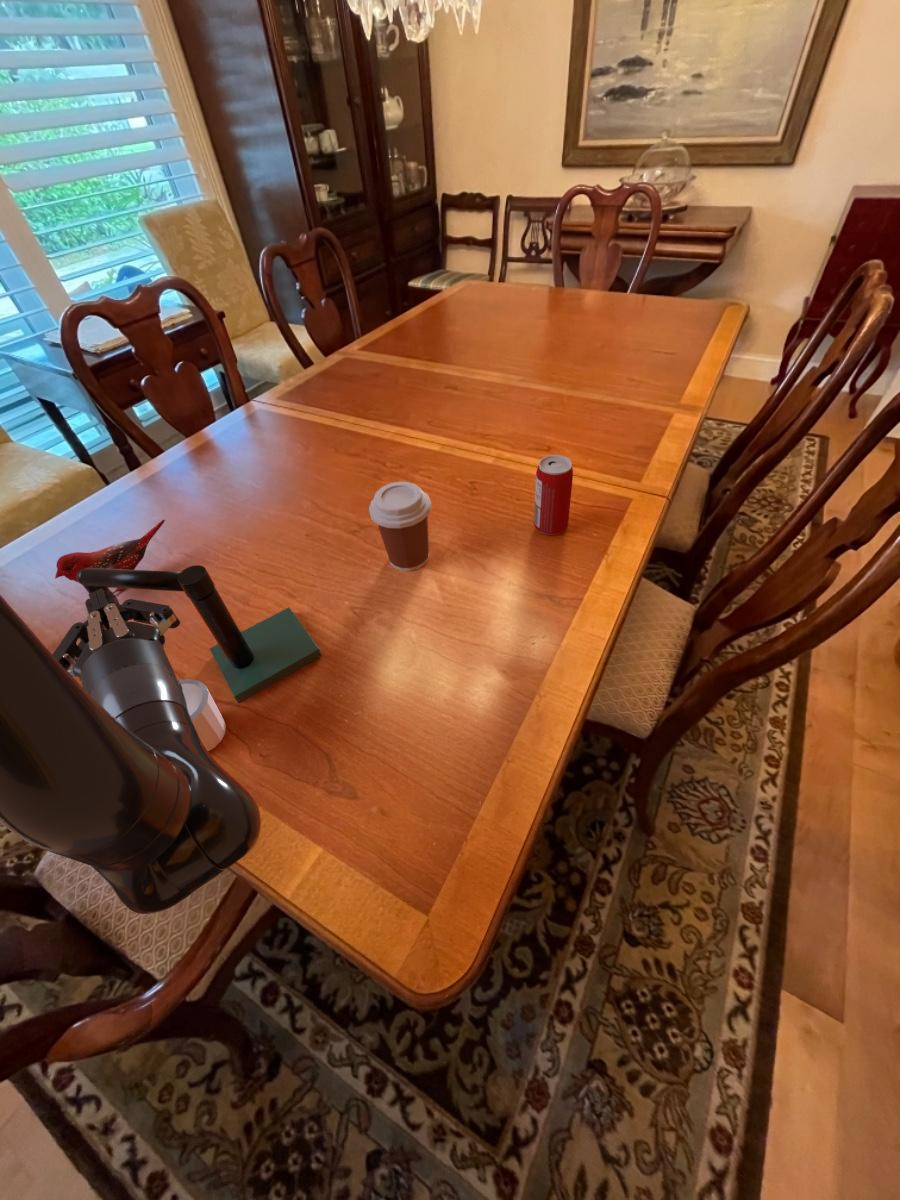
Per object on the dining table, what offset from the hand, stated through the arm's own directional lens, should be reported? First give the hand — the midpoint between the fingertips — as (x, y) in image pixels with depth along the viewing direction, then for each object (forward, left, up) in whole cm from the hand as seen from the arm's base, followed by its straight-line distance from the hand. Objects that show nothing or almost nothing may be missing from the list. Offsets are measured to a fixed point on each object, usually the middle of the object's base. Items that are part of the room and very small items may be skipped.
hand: (99, 596), depth 61 cm
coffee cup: (+39, -1, -16) cm, 42 cm away
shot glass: (+2, -12, -16) cm, 20 cm away
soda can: (+61, -10, -16) cm, 64 cm away
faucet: (+13, -5, -16) cm, 21 cm away
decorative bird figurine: (+2, +24, -16) cm, 29 cm away
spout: (+5, -1, -3) cm, 6 cm away
